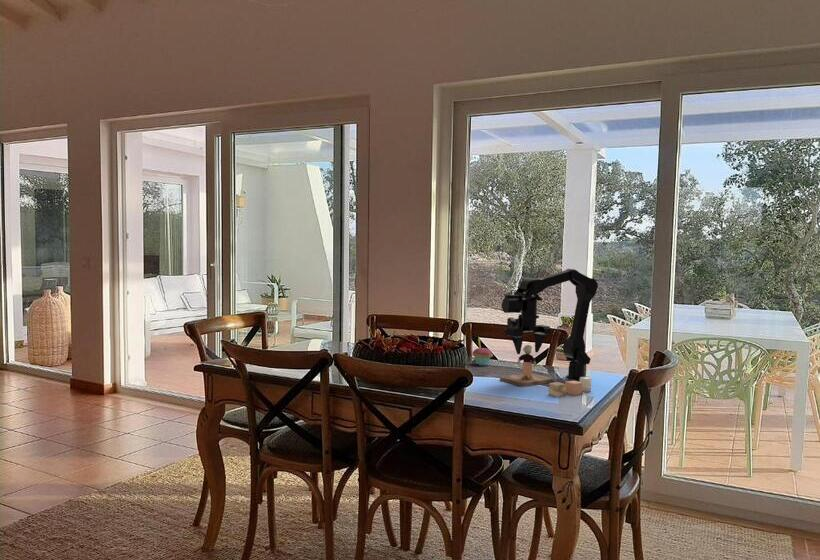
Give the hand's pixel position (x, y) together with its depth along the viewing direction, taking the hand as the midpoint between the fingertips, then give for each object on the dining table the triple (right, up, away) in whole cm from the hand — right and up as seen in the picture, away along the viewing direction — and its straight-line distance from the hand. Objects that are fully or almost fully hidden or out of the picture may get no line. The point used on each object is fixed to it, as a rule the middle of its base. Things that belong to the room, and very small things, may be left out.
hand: (527, 353), depth 247 cm
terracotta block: (+13, -12, -17) cm, 25 cm away
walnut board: (0, -11, +1) cm, 11 cm away
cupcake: (-14, -9, +31) cm, 35 cm away
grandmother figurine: (0, -10, +1) cm, 10 cm away
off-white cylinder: (+19, -12, -12) cm, 25 cm away
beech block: (+7, -12, -20) cm, 24 cm away
